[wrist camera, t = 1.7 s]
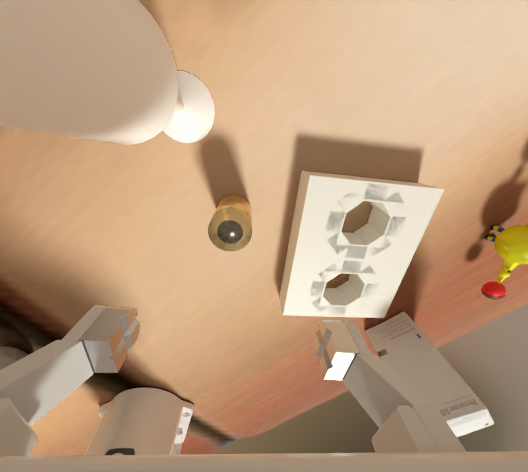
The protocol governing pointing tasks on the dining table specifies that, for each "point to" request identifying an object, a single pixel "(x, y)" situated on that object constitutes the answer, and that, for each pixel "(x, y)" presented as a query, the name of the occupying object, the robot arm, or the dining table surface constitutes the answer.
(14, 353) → the grey bottle
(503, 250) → the toy figure
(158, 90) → the champagne flute
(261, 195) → the dining table surface
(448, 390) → the skincare box
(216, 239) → the bushing
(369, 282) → the jig
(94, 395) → the dining table surface
